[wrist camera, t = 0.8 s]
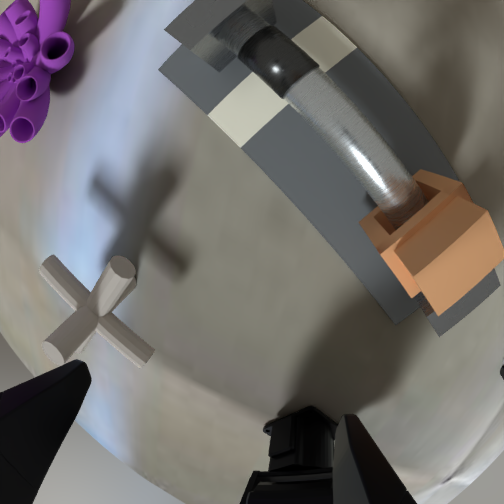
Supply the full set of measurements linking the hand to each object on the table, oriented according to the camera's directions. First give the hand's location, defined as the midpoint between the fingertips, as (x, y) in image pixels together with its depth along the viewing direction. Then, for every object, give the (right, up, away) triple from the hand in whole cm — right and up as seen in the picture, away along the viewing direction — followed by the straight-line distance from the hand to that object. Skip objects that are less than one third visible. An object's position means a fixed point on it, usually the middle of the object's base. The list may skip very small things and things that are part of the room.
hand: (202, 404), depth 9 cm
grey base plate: (+8, +11, +8) cm, 16 cm away
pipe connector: (-9, +3, +15) cm, 17 cm away
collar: (+11, +7, +8) cm, 15 cm away
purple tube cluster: (-16, +21, +9) cm, 28 cm away
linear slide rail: (+8, +11, +8) cm, 16 cm away
